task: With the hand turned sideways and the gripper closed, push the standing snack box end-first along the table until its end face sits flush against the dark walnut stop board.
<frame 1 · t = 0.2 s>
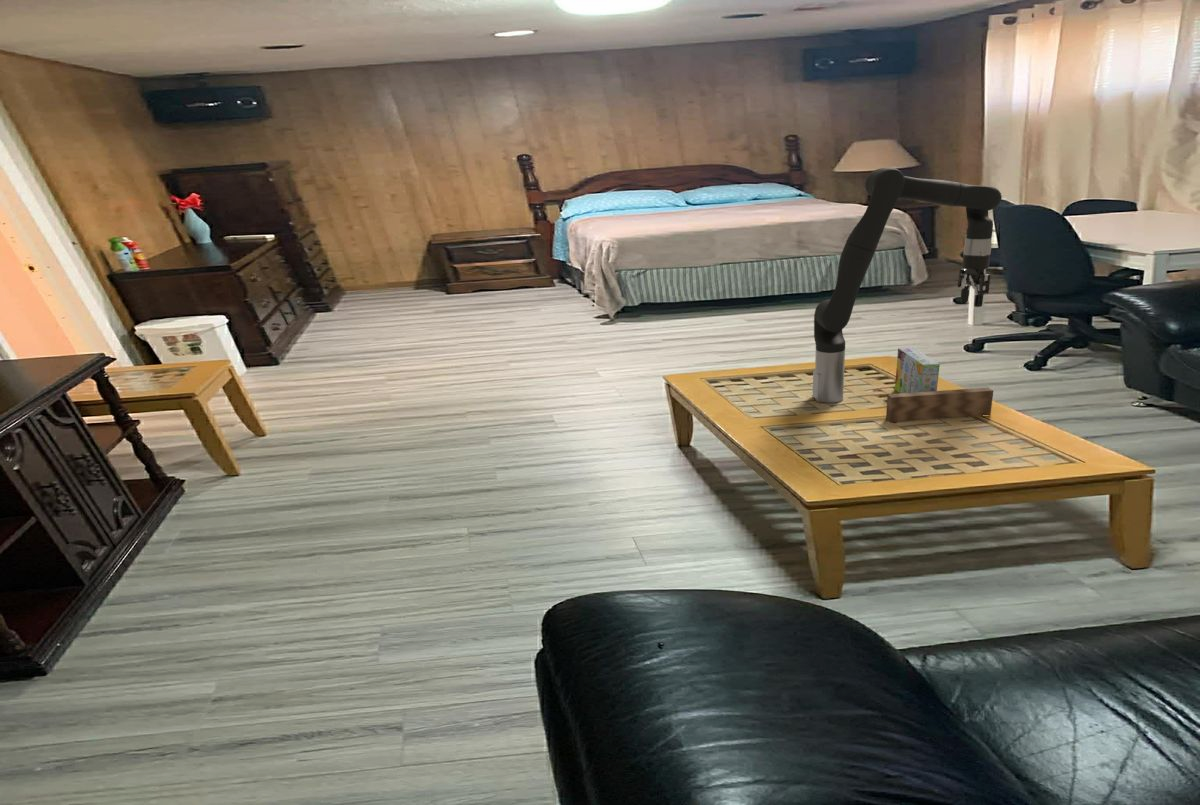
hand: (970, 304, 220), 29 cm above the table, tool pointing down, fingers open, 8 cm apart
stop board: (937, 417, 208), on the table
snack box: (914, 399, 224), on the table
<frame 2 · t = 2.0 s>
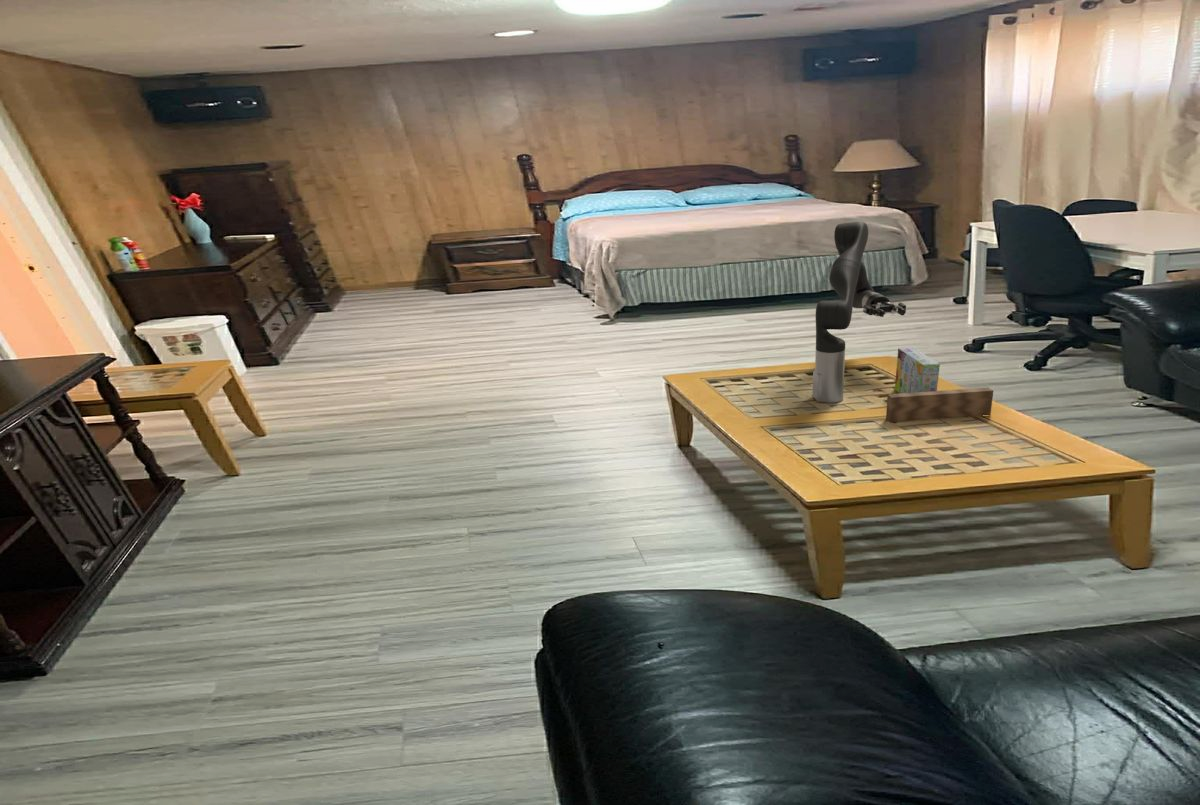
hand: (893, 313, 236), 24 cm above the table, tool horizontal, fingers open, 6 cm apart
nothing on the table moved.
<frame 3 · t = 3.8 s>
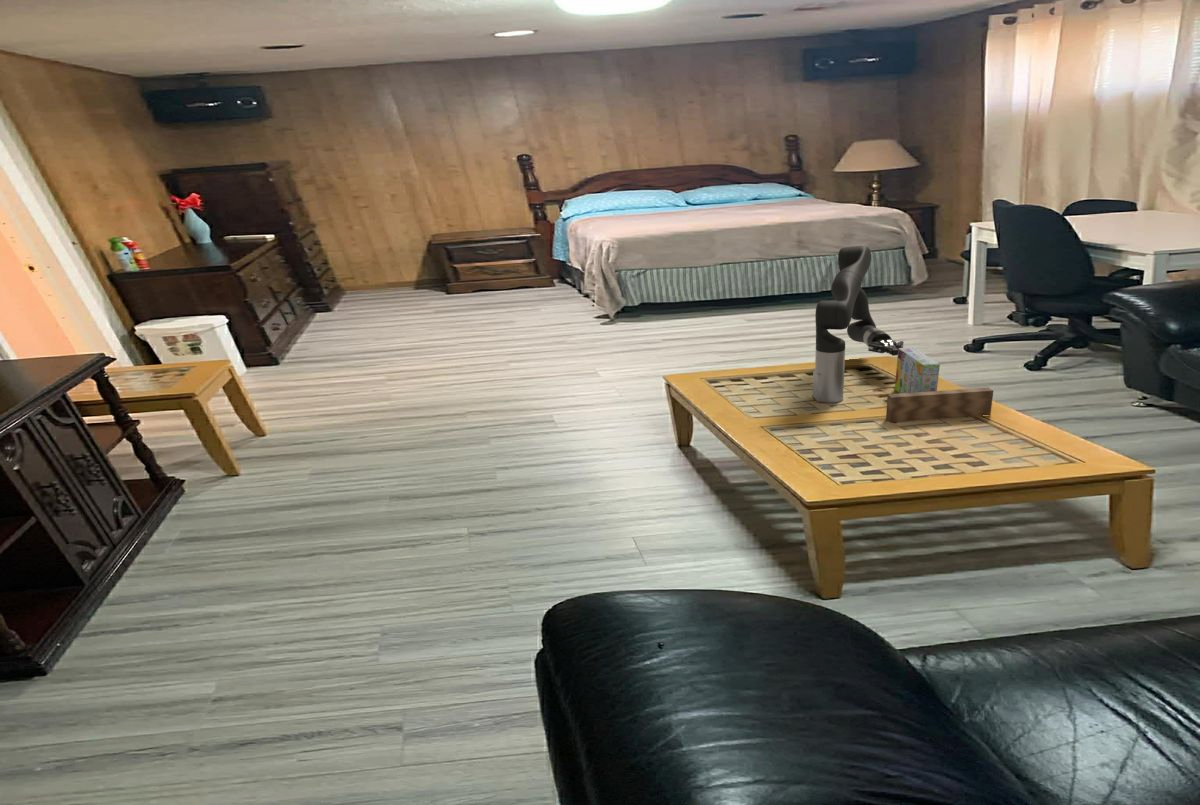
hand: (895, 352, 237), 11 cm above the table, tool horizontal, fingers closed
nothing on the table moved.
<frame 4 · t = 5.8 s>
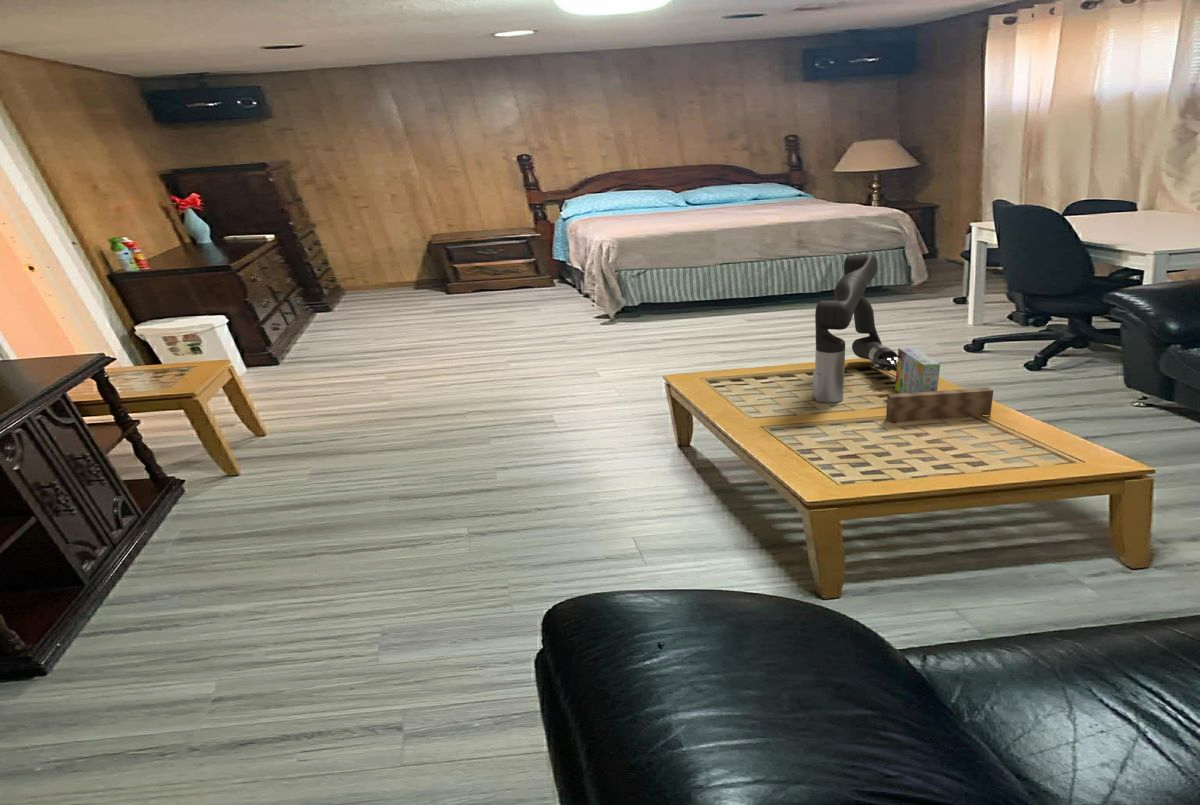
hand: (902, 370, 232), 7 cm above the table, tool horizontal, fingers closed
snack box: (914, 399, 224), on the table, touching gripper
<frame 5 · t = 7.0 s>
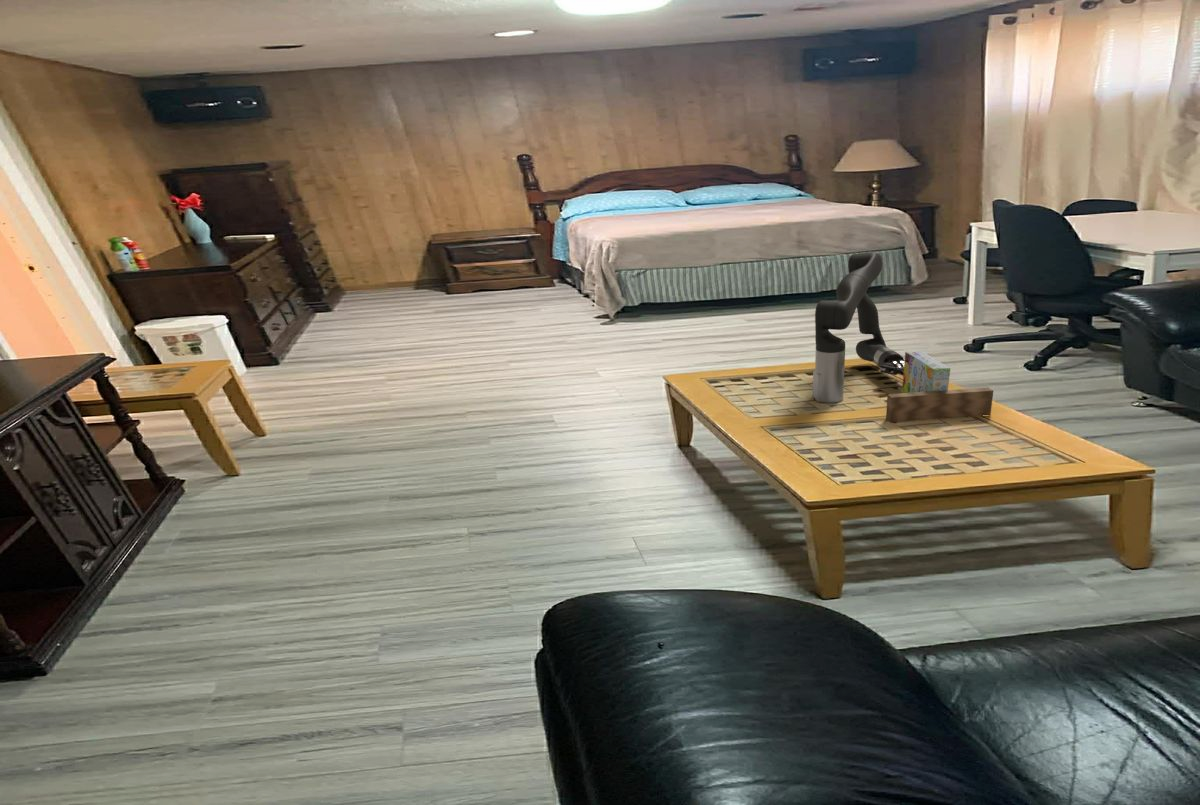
hand: (909, 374, 227), 7 cm above the table, tool horizontal, fingers closed
snack box: (922, 404, 219), on the table, touching gripper, stop board
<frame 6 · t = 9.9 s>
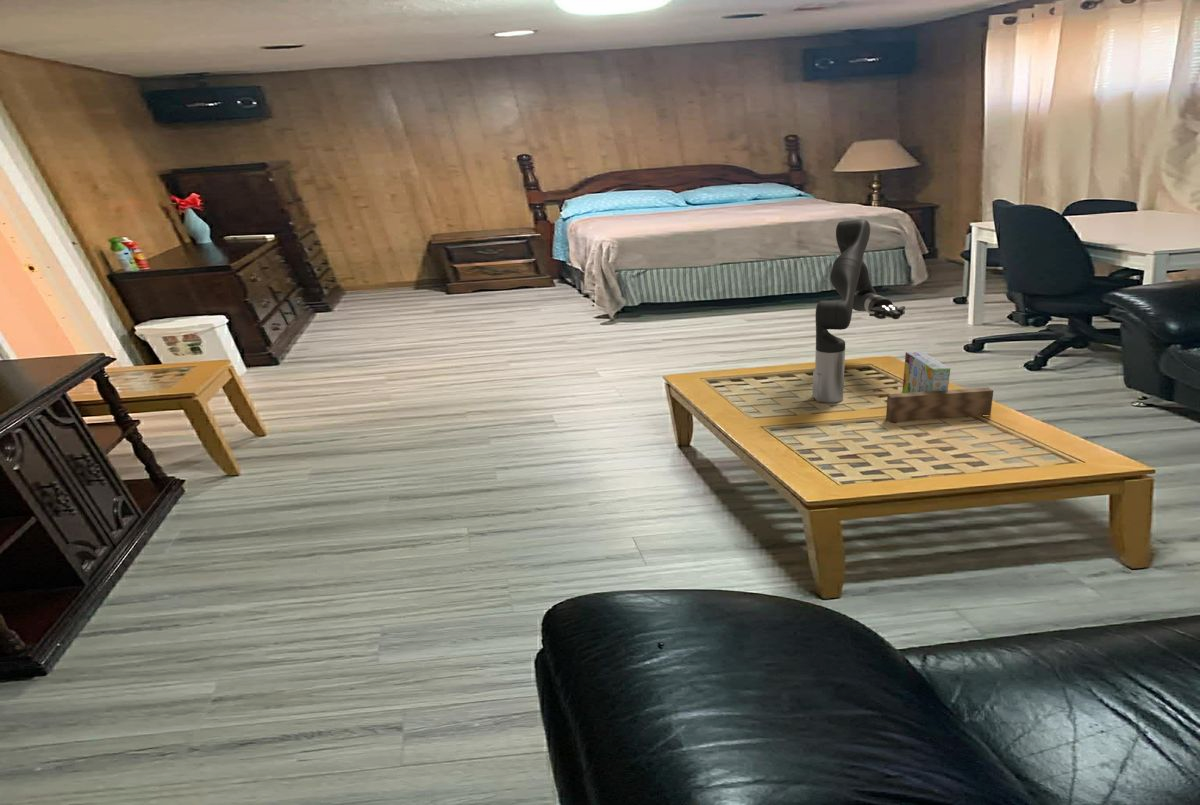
hand: (897, 316, 233), 24 cm above the table, tool horizontal, fingers closed
snack box: (922, 404, 219), on the table
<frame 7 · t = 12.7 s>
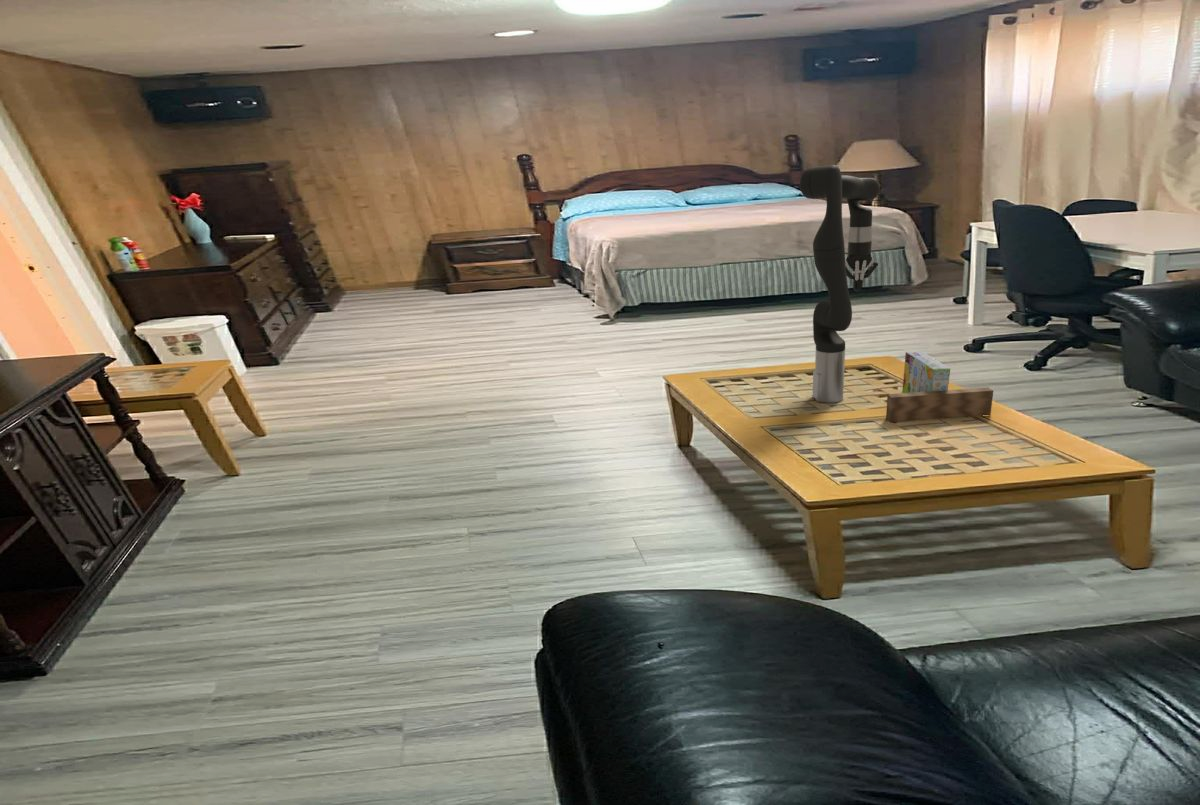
hand: (857, 290, 238), 32 cm above the table, tool pointing down, fingers closed
nothing on the table moved.
at the end: snack box inside the target area on the table beside the stop board (0.7 cm from its centre), on the table; snack box tilted 0° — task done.
